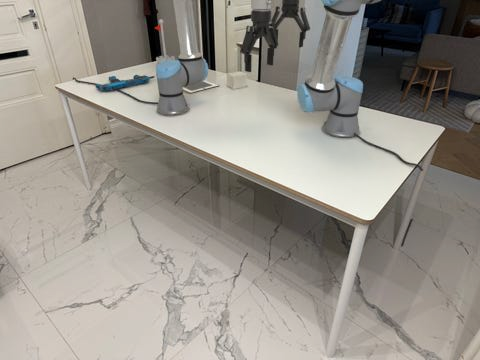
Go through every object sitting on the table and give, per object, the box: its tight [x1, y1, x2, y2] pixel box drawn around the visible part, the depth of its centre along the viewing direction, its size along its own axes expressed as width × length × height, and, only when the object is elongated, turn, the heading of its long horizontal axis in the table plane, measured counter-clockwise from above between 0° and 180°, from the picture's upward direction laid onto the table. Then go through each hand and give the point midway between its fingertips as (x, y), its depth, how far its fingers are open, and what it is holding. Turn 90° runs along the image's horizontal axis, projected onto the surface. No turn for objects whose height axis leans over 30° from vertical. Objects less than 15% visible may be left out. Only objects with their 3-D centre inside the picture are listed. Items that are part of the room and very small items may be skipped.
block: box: [226, 70, 248, 90], centre depth 201 cm, size 8×9×7 cm
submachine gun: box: [95, 74, 156, 92], centre depth 206 cm, size 34×4×25 cm
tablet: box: [183, 79, 219, 94], centre depth 207 cm, size 32×20×1 cm, turn 41°
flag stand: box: [154, 18, 176, 65], centre depth 234 cm, size 13×13×30 cm
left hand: (259, 68), depth 137 cm, fingers open, 13 cm apart
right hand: (287, 45), depth 161 cm, fingers open, 13 cm apart
